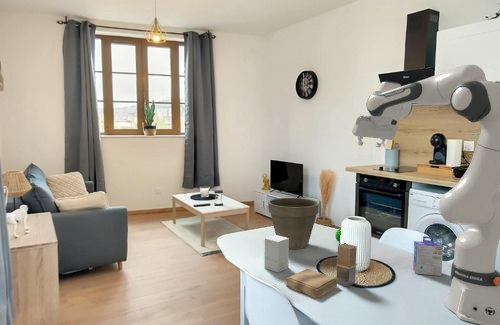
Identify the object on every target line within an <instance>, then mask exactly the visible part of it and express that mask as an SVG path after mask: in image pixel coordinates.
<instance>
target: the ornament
mask: <svg viewBox="0 0 500 325" xmlns="http://www.w3.org/2000/svg"><path fill="white" fill-rule="evenodd" d="M341 228H342V227H340V228H338V229H337V230H336V232H335V239H336V241H337V242H338V243H339V244H341V243H340V235H341V231H340V230H341Z"/></svg>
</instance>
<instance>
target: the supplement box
mask: <svg viewBox="0 0 500 325" xmlns="http://www.w3.org/2000/svg"><path fill="white" fill-rule="evenodd" d="M289 254H290V249H289V238H286V237H282V236H278V235H276V234H273V235H271V236H268V237H265V238H264V265H263V266H264V269H266V270H270V271H273V272H275V273H280V272H283V271H284V270H287V269H289V264H290V262H289V259H290V256H289Z"/></svg>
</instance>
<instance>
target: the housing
mask: <svg viewBox="0 0 500 325" xmlns="http://www.w3.org/2000/svg"><path fill="white" fill-rule="evenodd" d="M357 250H358V247H357V245H352V244H349V243H348V244H346V243H344V244H339V245H338V246H337V255H336V256H337V257H336V260H337V261H336V264H335V266H336V276H335V278H336V279H337V284H338V285H341V286H344V287H348V288H350V286H353V285H354V284H355V283H356V273H357V272H356V270H357V265H358V264H357V252H358V251H357Z"/></svg>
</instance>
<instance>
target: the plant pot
mask: <svg viewBox="0 0 500 325" xmlns="http://www.w3.org/2000/svg"><path fill="white" fill-rule="evenodd" d="M267 204H268V207H267V208H268V212H269V214H270V216H271V220H272V224H273V229H274V232H275V234H274V235H278V236H282V237H286V238H289V250H301V249H305V248H306V247H308V245H309V242H310V239H311V236H312V233H313V230H314V226H315V222H316V217H317V215H318V214H319V207H320V202H318V201H317V200H314V199H309V198H303V197H302V198H301V197H279V198H273V199H270V200H269V201H268V202H267Z"/></svg>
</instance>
